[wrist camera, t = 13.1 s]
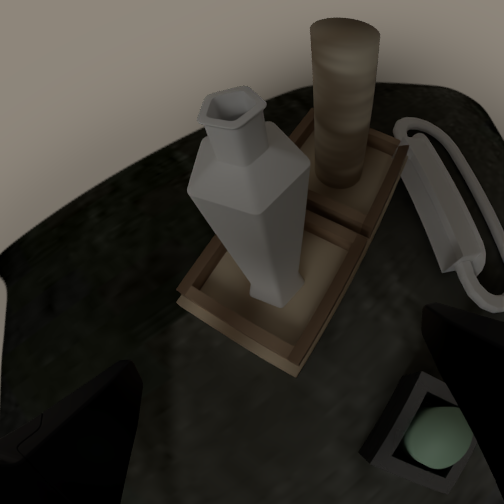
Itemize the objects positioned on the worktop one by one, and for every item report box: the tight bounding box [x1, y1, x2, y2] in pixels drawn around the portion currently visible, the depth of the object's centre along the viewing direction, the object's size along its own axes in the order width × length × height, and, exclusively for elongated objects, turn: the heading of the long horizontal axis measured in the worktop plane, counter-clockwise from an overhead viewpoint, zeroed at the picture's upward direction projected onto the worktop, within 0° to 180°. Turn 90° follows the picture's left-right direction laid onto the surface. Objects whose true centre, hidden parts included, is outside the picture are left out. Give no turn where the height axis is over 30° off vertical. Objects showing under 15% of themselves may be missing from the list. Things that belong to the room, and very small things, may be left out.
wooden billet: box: [310, 18, 380, 189], centre depth 20 cm, size 4×4×13 cm
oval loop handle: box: [392, 117, 504, 313], centre depth 23 cm, size 20×8×4 cm, turn 9°
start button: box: [398, 407, 473, 469], centre depth 14 cm, size 4×4×4 cm
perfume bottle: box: [187, 86, 310, 308], centre depth 16 cm, size 5×4×15 cm
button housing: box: [358, 371, 477, 495], centre depth 15 cm, size 6×6×4 cm
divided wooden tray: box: [176, 108, 409, 378], centre depth 24 cm, size 10×21×2 cm, turn 147°
